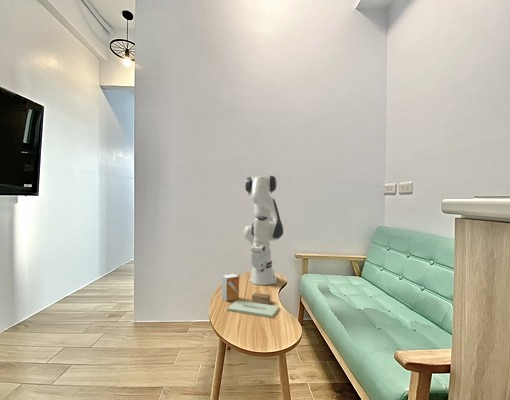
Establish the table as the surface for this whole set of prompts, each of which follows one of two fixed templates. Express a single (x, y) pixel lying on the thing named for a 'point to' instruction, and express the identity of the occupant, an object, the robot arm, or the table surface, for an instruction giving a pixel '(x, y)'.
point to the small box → (230, 287)
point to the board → (253, 308)
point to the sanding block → (261, 298)
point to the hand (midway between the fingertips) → (261, 270)
